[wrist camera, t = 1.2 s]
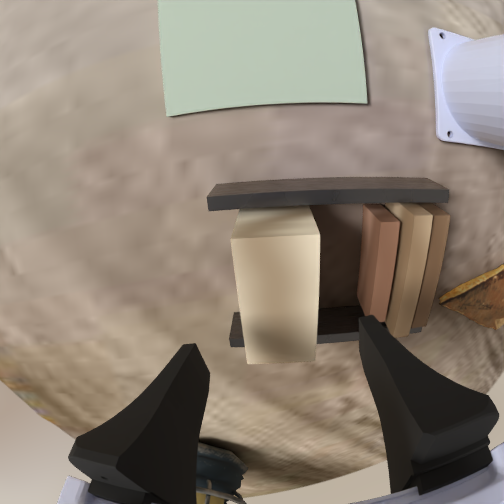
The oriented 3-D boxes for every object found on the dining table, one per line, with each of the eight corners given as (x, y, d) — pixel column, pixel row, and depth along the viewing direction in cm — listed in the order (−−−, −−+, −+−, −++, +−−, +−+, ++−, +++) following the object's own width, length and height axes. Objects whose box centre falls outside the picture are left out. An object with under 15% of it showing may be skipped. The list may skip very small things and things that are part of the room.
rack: (426, 178, 17) (449, 189, 14) (407, 308, 22) (420, 332, 19) (216, 184, 18) (206, 196, 16) (235, 320, 23) (230, 347, 20)
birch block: (305, 198, 18) (320, 234, 13) (306, 303, 22) (315, 361, 16) (242, 201, 19) (230, 239, 13) (253, 305, 22) (247, 364, 17)
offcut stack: (421, 193, 18) (455, 215, 14) (406, 296, 21) (427, 332, 17) (363, 193, 18) (388, 216, 14) (355, 301, 22) (370, 341, 18)
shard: (432, 294, 22) (441, 306, 20) (479, 218, 18) (492, 226, 17) (490, 325, 23) (498, 335, 21) (530, 266, 20) (540, 274, 18)
